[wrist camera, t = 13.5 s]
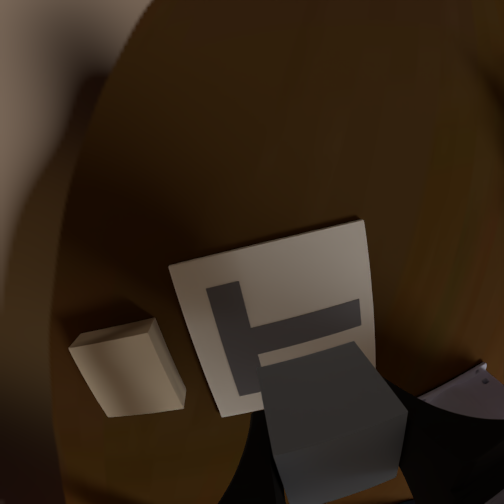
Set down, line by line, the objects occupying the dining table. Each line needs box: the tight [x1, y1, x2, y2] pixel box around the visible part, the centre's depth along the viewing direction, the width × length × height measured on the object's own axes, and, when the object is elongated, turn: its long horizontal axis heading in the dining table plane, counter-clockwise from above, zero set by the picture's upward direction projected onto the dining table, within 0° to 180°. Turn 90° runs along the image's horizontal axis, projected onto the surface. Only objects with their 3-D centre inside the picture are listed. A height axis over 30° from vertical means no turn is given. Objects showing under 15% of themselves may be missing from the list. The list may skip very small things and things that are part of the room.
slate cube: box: [257, 341, 408, 504], centre depth 11 cm, size 4×4×5 cm
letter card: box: [168, 219, 376, 417], centre depth 19 cm, size 12×12×1 cm
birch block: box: [68, 317, 186, 417], centre depth 18 cm, size 6×6×2 cm
